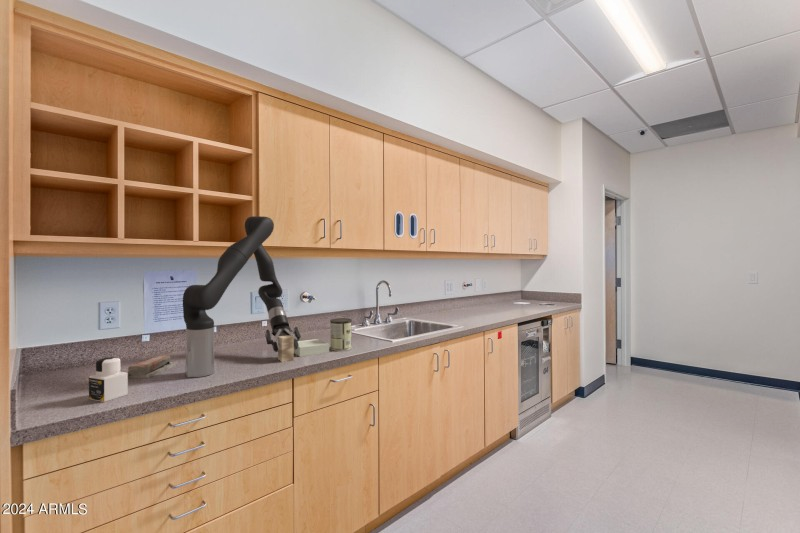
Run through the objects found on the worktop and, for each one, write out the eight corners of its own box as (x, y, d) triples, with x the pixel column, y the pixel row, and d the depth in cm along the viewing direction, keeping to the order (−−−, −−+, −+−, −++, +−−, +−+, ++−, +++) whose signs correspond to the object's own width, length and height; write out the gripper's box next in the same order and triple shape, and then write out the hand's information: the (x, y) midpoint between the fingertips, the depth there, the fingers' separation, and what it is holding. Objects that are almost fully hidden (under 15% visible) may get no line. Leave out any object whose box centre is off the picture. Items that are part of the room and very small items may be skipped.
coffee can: (334, 346, 192) (334, 317, 192) (354, 346, 190) (354, 318, 190) (326, 350, 182) (326, 320, 181) (347, 351, 180) (347, 321, 180)
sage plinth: (300, 356, 170) (300, 347, 170) (289, 350, 181) (289, 342, 181) (329, 352, 178) (329, 343, 178) (317, 346, 189) (317, 338, 189)
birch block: (282, 362, 161) (282, 338, 160) (278, 359, 165) (278, 336, 165) (293, 360, 163) (293, 337, 163) (289, 358, 168) (289, 335, 167)
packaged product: (149, 365, 138) (121, 366, 138) (149, 379, 138) (121, 379, 138) (177, 353, 156) (153, 353, 156) (177, 365, 156) (153, 365, 156)
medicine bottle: (88, 399, 117) (88, 360, 117) (113, 392, 123) (112, 354, 123) (103, 402, 114) (103, 362, 114) (128, 394, 121) (128, 356, 121)
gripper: (263, 315, 166) (272, 346, 157) (295, 312, 174) (305, 342, 165) (260, 325, 170) (268, 357, 161) (291, 323, 178) (300, 352, 169)
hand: (287, 349), depth 163 cm, fingers open, 8 cm apart
